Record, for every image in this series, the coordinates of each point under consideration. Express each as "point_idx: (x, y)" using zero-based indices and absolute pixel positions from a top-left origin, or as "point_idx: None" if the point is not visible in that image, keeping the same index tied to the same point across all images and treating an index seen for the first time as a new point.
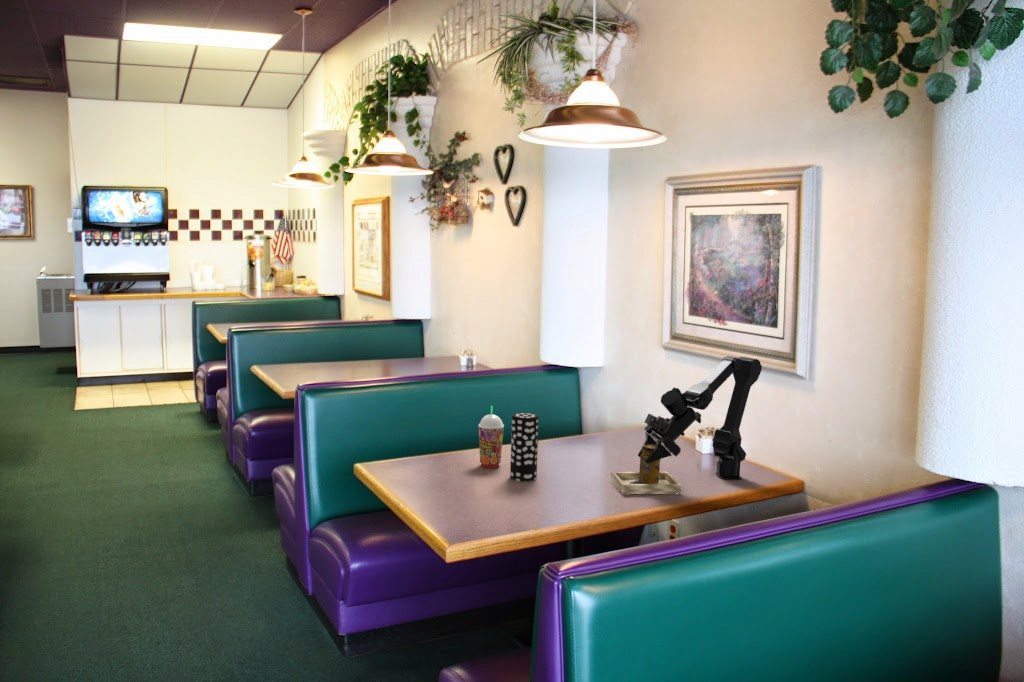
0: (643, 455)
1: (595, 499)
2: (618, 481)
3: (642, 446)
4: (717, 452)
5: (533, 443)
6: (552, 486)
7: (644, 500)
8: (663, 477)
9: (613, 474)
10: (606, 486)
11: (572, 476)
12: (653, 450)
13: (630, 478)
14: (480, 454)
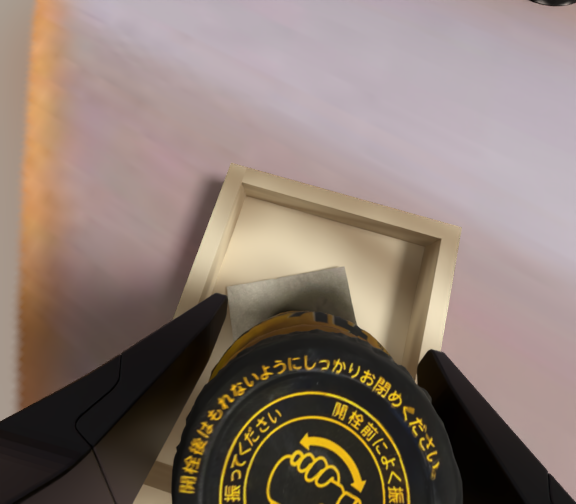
0: (294, 320)
1: (230, 68)
2: (313, 188)
3: (532, 454)
4: None
5: None
6: (423, 8)
7: (140, 232)
8: None
9: (417, 215)
10: (370, 185)
11: (539, 126)
12: (121, 392)
13: (410, 323)
14: None
